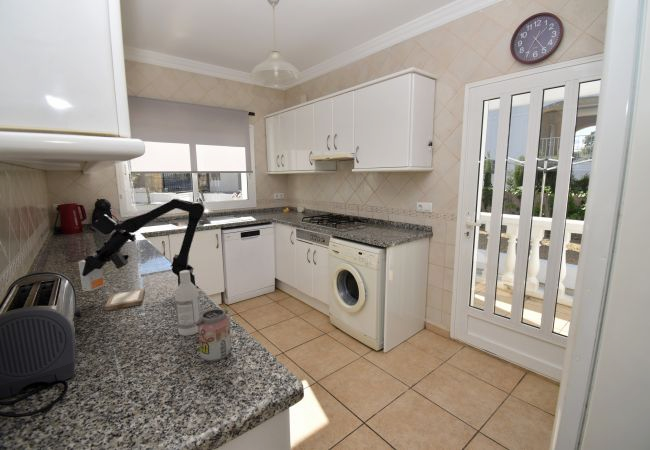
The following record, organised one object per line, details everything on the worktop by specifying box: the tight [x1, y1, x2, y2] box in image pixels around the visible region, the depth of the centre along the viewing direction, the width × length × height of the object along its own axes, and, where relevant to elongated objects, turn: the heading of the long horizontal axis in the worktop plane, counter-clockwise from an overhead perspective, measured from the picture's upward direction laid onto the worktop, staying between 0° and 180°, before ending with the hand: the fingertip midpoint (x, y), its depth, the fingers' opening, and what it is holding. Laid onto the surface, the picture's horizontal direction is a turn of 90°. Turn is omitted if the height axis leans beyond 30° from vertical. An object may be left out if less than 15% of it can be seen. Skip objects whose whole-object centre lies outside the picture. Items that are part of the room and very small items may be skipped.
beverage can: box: [195, 308, 232, 362], centre depth 84 cm, size 9×8×12 cm
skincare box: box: [77, 259, 105, 292], centre depth 120 cm, size 6×4×12 cm
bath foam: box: [174, 270, 202, 337], centre depth 96 cm, size 7×7×20 cm
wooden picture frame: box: [104, 288, 146, 311], centre depth 122 cm, size 12×14×2 cm
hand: (87, 272), depth 120 cm, fingers closed on skincare box, 7 cm apart
